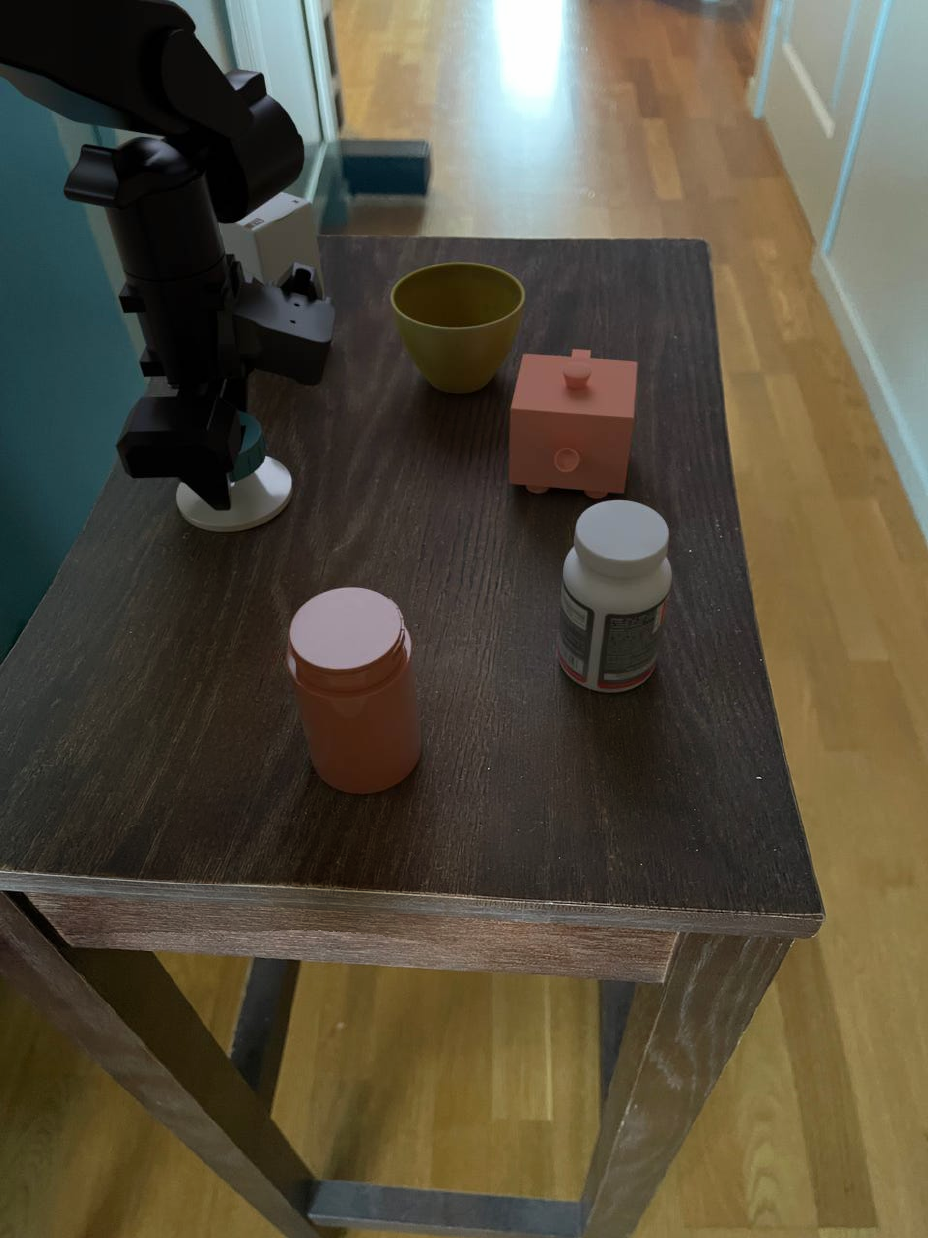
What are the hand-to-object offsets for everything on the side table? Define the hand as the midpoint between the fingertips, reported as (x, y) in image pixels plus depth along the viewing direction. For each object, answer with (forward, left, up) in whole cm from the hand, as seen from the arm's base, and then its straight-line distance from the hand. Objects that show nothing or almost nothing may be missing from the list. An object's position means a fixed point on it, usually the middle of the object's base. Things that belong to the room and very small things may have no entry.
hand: (231, 477), depth 63 cm
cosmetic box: (+11, +15, -2) cm, 19 cm away
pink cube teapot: (+21, -11, -2) cm, 23 cm away
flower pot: (+21, +4, -2) cm, 21 cm away
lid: (0, 0, +3) cm, 3 cm away
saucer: (0, 0, -2) cm, 2 cm away
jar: (-2, -24, -2) cm, 24 cm away
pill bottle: (+13, -26, -2) cm, 29 cm away
